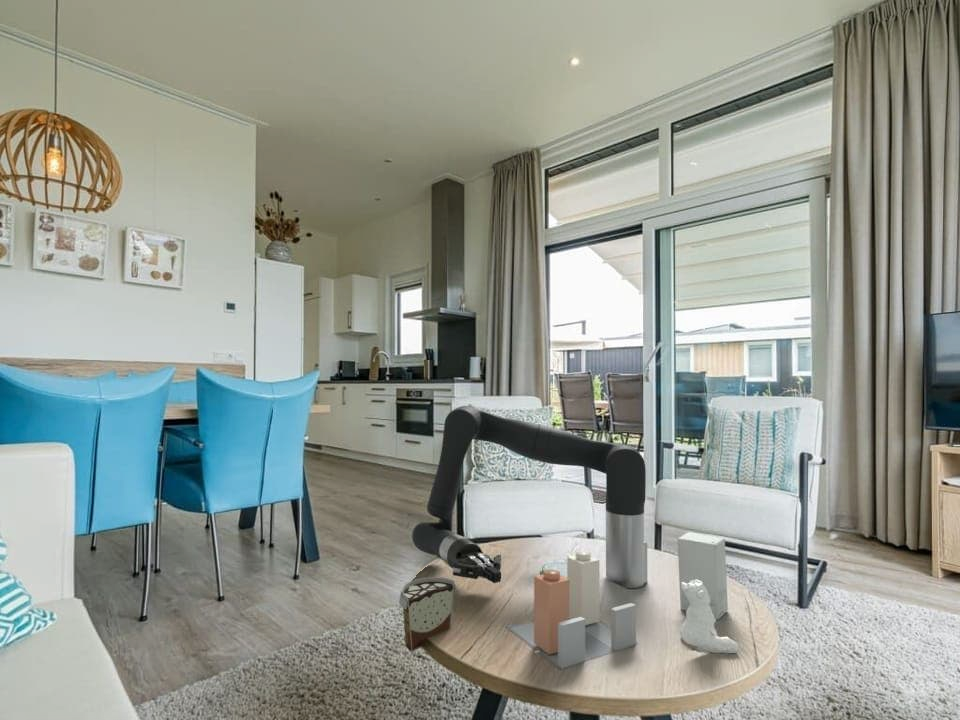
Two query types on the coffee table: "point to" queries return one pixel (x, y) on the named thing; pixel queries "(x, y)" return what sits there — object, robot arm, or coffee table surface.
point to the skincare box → (704, 569)
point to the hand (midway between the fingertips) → (497, 577)
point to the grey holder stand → (585, 637)
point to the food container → (426, 608)
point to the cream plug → (584, 587)
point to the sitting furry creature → (702, 622)
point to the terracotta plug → (549, 608)
